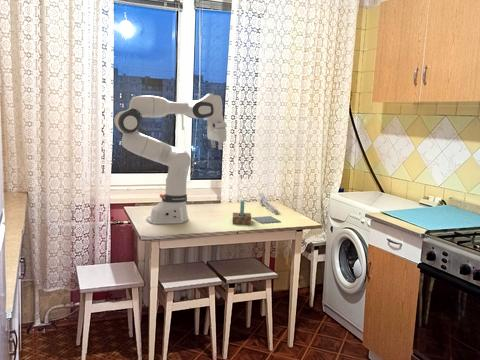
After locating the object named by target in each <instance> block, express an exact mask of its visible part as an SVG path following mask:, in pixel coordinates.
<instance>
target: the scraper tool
mask: <svg viewBox="0 0 480 360" xmlns="http://www.w3.org/2000/svg"><path fill="white" fill-rule="evenodd" d="M239 205H240V207H239V213H240V216H244V213H245V200H244V199H240V204H239Z"/></svg>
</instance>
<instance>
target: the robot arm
mask: <svg viewBox="0 0 480 360" xmlns="http://www.w3.org/2000/svg"><path fill="white" fill-rule="evenodd" d="M223 107H224V106H223V100H222V97H221V95H220V94H217V93H207V94H206V95H205V96H203V97H202V98H200V99H198V100H195V99H192V100H188V101H186V102H178V101H177V102H175V101H170V100H168V99H166V98H164V97H161V96H156V95H137V96H134V97H132V98H131V99H130V101H129V106H128V109H127V110H119V111H118V112H116V113H115V114H114V116H113V119H112V120H113V126H115V128H116V130H117V131H118V132H119V133H120V135H122V137H121V146H122V147H123V148H124V149H125V150H127V151H129V152H131V153H133V154H135V155H137V156H139V157H142V158H145V159H148V160H150V161H153V162H156V163H160V164H162V165H164V166H167V167H168V171H167V174H166V175H167V176H166V179H165V193H164V194H163V193H160V194H159V198H161V201H160V202H159V203H157V204H156V205H155V206H153V207H152V209H151V212H150V215H148V216H146V221H147V222H148V223H150V224H153V225H162V224H163V225H164V224H165V225H166V224H170V225H171V224H183V223H184V222H187V221H189V220H190V219H189V216H188V209H187V204H188V194H187V182H188V181H187V179H188V174H189V170H190V169H189V168H190V166H191V164H192V158H191V156H190V154H189V153H188V152H187V151H186V150H184V149H181V148H178V147H176V146H173V145H170V144H168V143H166V142H164V141H161V140H159V139H156V138H154V137H152V136H149V135H145V134H144V133H141V132H139V128H140V125H141V123H142V120H143V118H154V119H155V118H163V117H166V116H167V115H171V114H172V115H183V116H186V117H188V118H191V119H199V120H203V119H205V118H207V119H206V120H207V121H206V123H207V129H206V130H207V131H206V135H207V140H210V143H211V148H213V149H214V148H215V149H216V147H217V150H223V146H224V145H223V144H224V142H226V141H227V129H226V128H227V127H228V126H227V122H226V121H225V120H224V116H223V111H224V110H223ZM216 142H217V143H218V146H217V145H216Z"/></svg>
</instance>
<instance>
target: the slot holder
mask: <svg viewBox="0 0 480 360" xmlns="http://www.w3.org/2000/svg"><path fill="white" fill-rule="evenodd" d="M232 225H244V226H245V225H252V213H251V212H244V216H240V212H232Z"/></svg>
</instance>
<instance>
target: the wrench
mask: <svg viewBox="0 0 480 360" xmlns="http://www.w3.org/2000/svg"><path fill="white" fill-rule="evenodd" d="M257 196H259V197H260V199H259V200H258V202H259V204H260V206H261V207H264V206H265V207H266V208H267V209H269V210H270V212H271V213H273V214H274V215H279V210H278V209H277V208H276V207H275V206H274V205H273V204H272V203H270V202H269V201H268V200H267V198H266V196H265V194H264V193H263V192H262V191H261V192H259V193H258V195H257Z"/></svg>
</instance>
